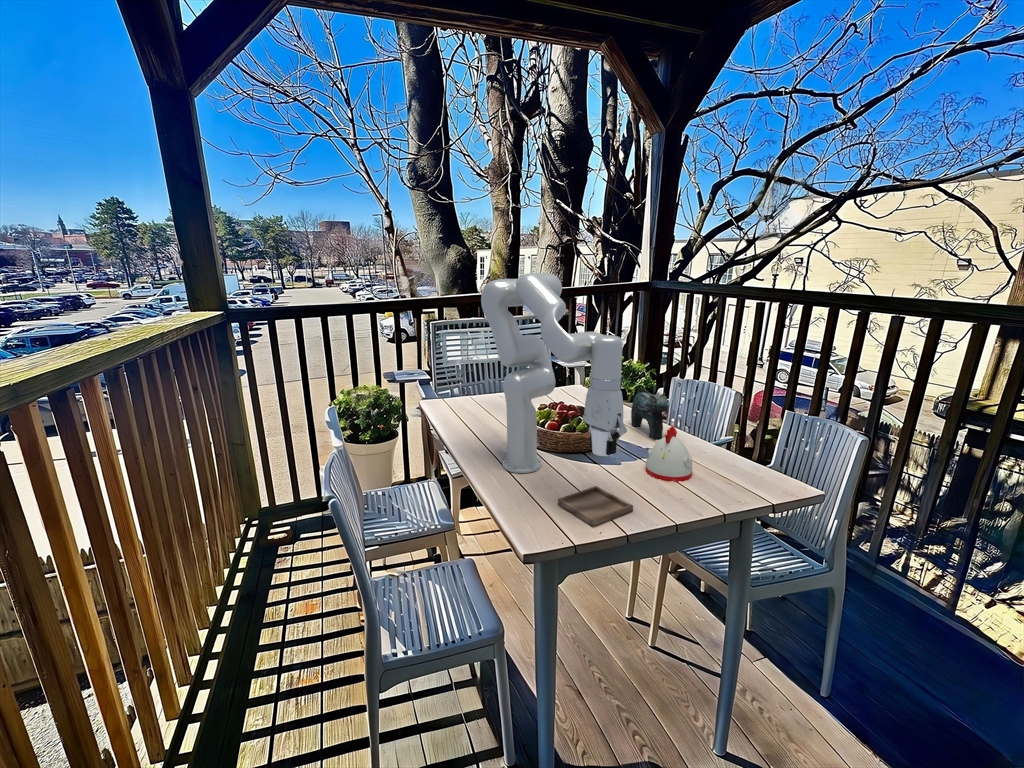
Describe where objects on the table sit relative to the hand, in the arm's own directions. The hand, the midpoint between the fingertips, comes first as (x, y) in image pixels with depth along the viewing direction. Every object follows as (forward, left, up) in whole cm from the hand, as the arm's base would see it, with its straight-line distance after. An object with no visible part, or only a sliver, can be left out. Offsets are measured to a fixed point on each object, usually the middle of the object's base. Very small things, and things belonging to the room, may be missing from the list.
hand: (602, 449), depth 126 cm
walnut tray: (+1, -3, -15) cm, 16 cm away
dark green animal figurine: (-32, +54, -16) cm, 65 cm away
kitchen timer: (-3, +32, -16) cm, 35 cm away
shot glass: (0, 0, -1) cm, 1 cm away
